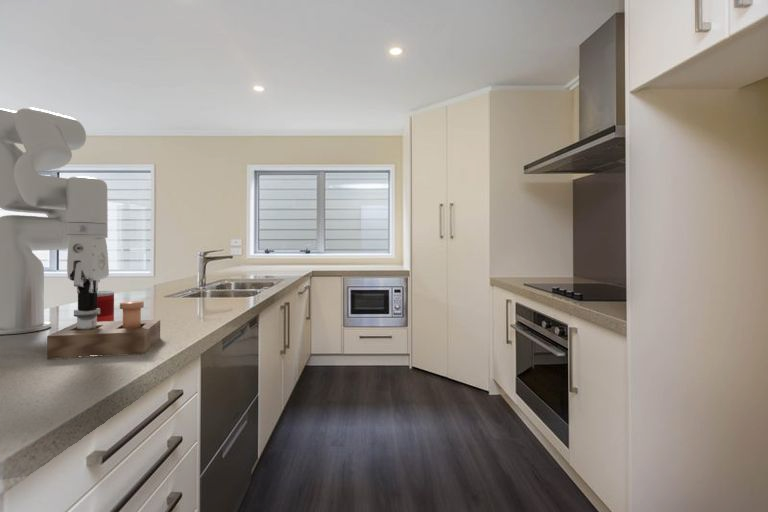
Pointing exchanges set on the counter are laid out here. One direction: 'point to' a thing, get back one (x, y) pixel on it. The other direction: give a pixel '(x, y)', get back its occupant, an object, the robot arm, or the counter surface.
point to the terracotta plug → (132, 313)
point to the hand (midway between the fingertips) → (87, 309)
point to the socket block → (103, 340)
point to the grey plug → (87, 319)
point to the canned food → (105, 306)
